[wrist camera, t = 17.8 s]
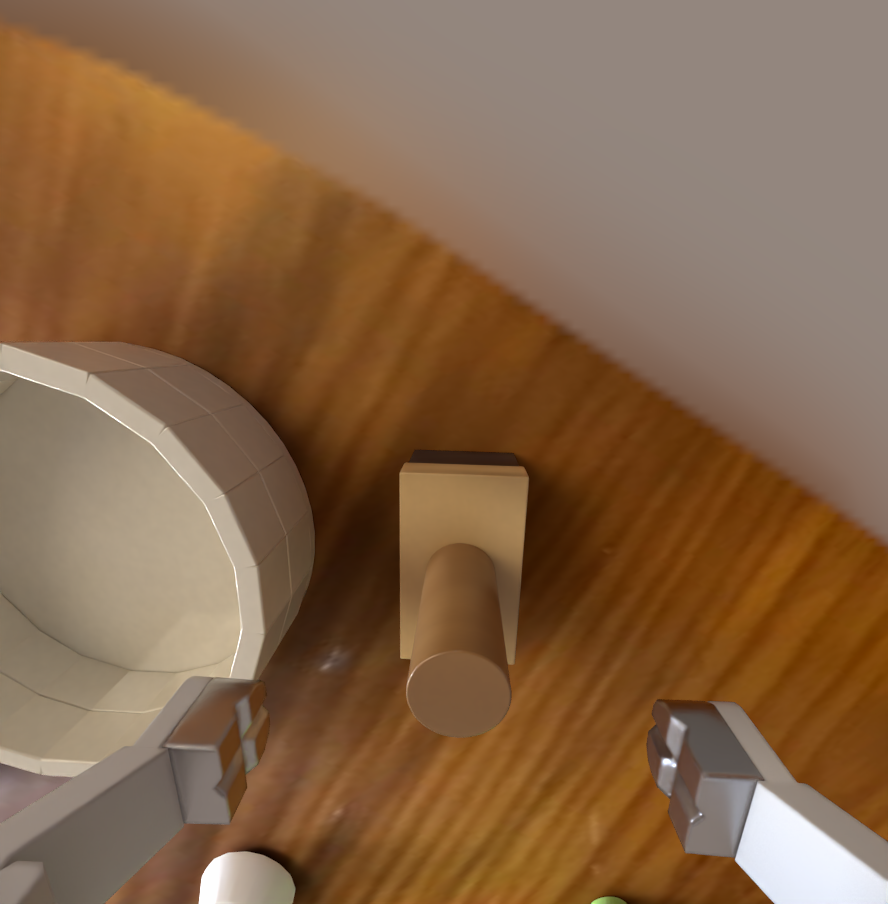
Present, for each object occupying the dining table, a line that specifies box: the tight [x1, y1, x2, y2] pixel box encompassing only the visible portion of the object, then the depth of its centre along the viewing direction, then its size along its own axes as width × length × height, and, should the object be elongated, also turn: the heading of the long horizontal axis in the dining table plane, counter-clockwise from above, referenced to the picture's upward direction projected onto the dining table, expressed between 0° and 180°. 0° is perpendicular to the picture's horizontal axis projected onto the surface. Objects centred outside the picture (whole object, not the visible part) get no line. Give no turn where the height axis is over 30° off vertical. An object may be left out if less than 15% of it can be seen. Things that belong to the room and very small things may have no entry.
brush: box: [399, 450, 529, 737], centre depth 14 cm, size 7×4×9 cm, turn 179°
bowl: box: [0, 341, 315, 777], centre depth 16 cm, size 16×16×5 cm
